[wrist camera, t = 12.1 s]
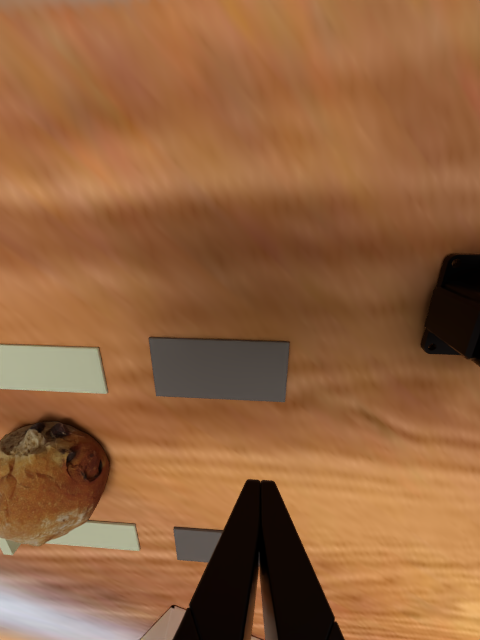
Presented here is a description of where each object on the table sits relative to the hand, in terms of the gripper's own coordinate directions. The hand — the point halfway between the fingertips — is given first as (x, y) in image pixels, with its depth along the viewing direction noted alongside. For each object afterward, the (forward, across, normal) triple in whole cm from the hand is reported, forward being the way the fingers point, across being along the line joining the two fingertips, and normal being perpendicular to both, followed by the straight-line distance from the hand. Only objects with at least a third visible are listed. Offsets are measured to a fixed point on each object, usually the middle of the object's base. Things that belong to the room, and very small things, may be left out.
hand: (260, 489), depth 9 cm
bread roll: (+12, +18, +14) cm, 26 cm away
